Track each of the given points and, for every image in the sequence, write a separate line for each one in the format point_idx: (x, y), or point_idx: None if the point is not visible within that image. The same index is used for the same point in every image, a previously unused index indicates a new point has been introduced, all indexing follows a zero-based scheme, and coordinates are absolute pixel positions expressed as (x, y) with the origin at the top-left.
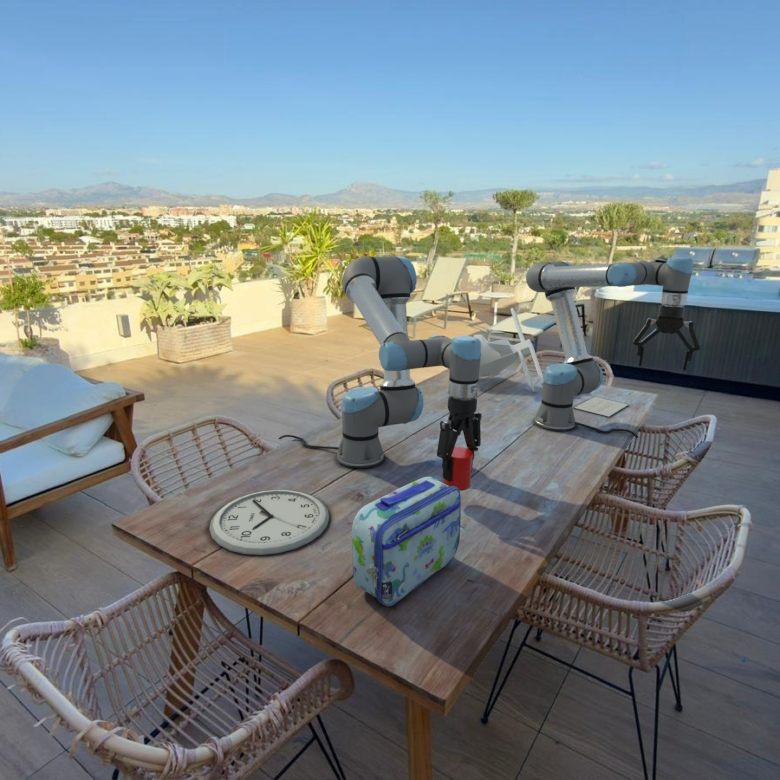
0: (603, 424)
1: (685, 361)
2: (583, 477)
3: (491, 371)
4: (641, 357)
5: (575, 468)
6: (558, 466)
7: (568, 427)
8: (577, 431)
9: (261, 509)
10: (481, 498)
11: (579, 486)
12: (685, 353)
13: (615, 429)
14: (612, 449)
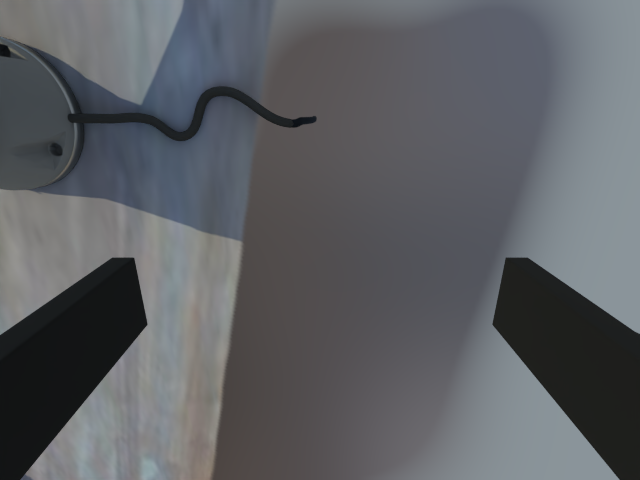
0: (165, 27)
1: (551, 387)
2: (191, 424)
3: None
4: (86, 383)
5: (167, 394)
6: (132, 399)
7: (67, 167)
8: (103, 154)
9: None
10: None
11: (192, 456)
12: (635, 395)
13: (213, 96)
14: (226, 258)
